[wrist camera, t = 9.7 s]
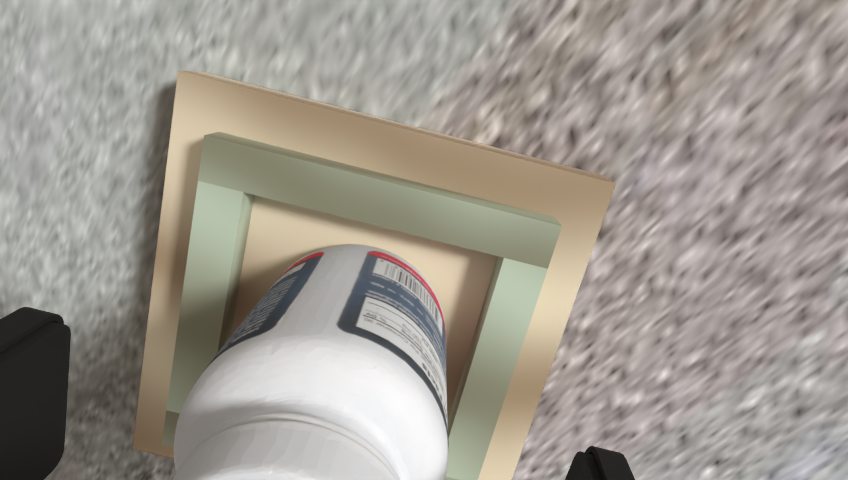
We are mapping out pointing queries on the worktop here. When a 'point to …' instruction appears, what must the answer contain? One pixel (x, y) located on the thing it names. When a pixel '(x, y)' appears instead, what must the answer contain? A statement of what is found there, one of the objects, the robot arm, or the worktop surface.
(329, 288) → the pill bottle
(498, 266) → the socket plate
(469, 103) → the worktop surface
